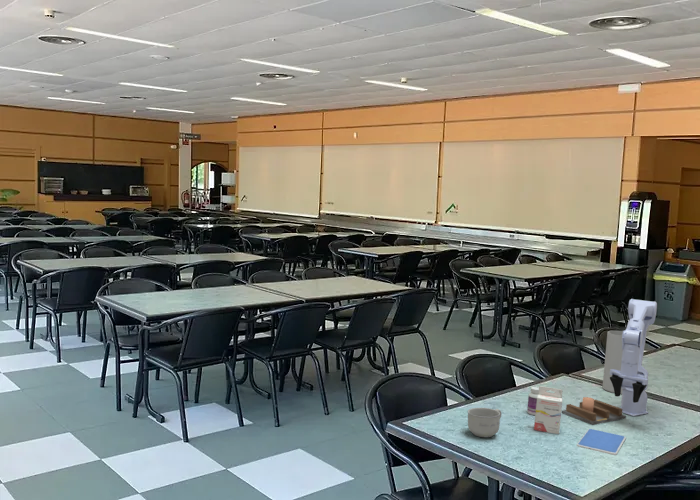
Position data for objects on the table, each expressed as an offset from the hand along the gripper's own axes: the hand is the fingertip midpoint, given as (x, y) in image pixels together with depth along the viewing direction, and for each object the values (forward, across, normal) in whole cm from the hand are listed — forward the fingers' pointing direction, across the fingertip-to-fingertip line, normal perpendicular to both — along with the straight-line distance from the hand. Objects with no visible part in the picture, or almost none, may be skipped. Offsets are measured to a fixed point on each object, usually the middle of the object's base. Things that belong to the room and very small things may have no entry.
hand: (626, 399), depth 244 cm
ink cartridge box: (+10, -7, -33) cm, 35 cm away
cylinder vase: (+10, -30, +37) cm, 49 cm away
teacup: (+10, -13, -56) cm, 58 cm away
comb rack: (+9, -11, -3) cm, 15 cm away
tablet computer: (+10, +9, -24) cm, 28 cm away
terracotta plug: (+8, -11, -7) cm, 15 cm away
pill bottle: (+10, -22, -23) cm, 33 cm away
